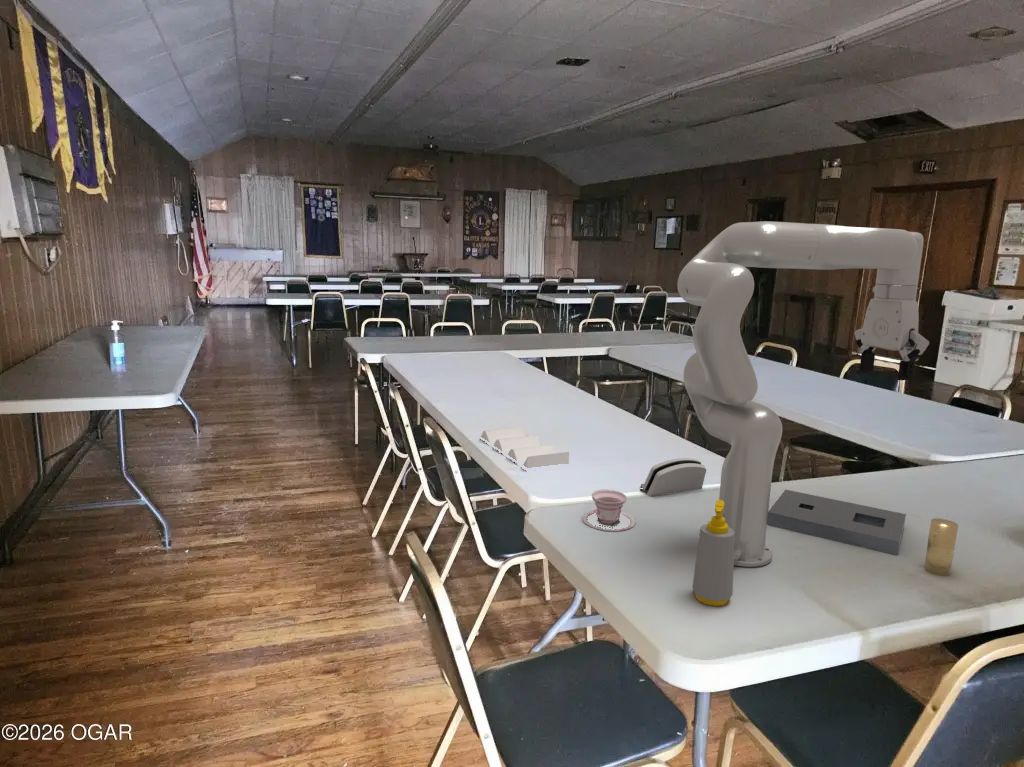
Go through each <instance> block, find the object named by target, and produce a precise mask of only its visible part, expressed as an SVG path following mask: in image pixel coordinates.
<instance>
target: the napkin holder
mask: <svg viewBox="0 0 1024 767" xmlns="http://www.w3.org/2000/svg"><path fill="white" fill-rule="evenodd" d="M706 473H707V468H706V467H705V465H704V464H702V462H701V461H700V460H698V459H694V458H690V457H689V458H688V457H678V458H674V459H668V460H665V461H662V462H660V463H657V464H655V465H653V466H652V467H651V468H650V471H649V473H648V475H647V477H646V479H645V481H644V482H643V483H641V484H640V487H639V489H640V488H643V490H642V491H645V492H647V493H646V495H647V496H648V497H655V496H662V495H666V494H675V493H681V492H688V491H692V490H694V491H695V490H699V489H700V490H701V489H703V485H704V481H705V477H706Z"/></svg>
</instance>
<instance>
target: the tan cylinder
mask: <svg viewBox="0 0 1024 767" xmlns="http://www.w3.org/2000/svg"><path fill="white" fill-rule="evenodd" d="M958 528H959V524H958V523H957V522H955V521H952V520H949V519H944V518H938V517H937V518H932V519H931V521H930V528H929V533H928V539H927V544H926V552H925V558H924V565H923V569H924V568H925V569H926V570H925V569H924V570H925V571H926V572H927V571H928V573H930V574H932V575H935V576H939V575H940V576H941V577H948V576H950V575H951V572H952V567H953V566H952V565H953V560H954V555H955V554H954V553H955V548H956V542H957V534H958ZM940 576H939V577H940Z"/></svg>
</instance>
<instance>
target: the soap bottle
mask: <svg viewBox="0 0 1024 767" xmlns="http://www.w3.org/2000/svg"><path fill="white" fill-rule="evenodd" d="M723 511H724V501H723V500H719V499H717V500H715V506H714V512H715V515H714V516H712V517H711V519H710V521H708V522H707V523H706V524H703V525H701V527H700V529H699V537H698V544H697V552H696V557H695V558H696V559H695V566H694V573H693V580H692V586H691V587H692V591H693V592H694V593H695V594H694V595H695V598H696V599H697V600H698V601H700V602H701V603H703V604H705V605H708V606H713V607H714V606H715V607H718V606H720V607H721V606H724V605H726V604H727V603H728V602H729V599H731V598H732V597H733V595H734V594H733V590H734V587H733V585H734V566H735V565H734V541H735V532H734V530H733V529H731V528H730V527H728V524H727V523H725V518H724V517H722V514H723Z"/></svg>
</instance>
